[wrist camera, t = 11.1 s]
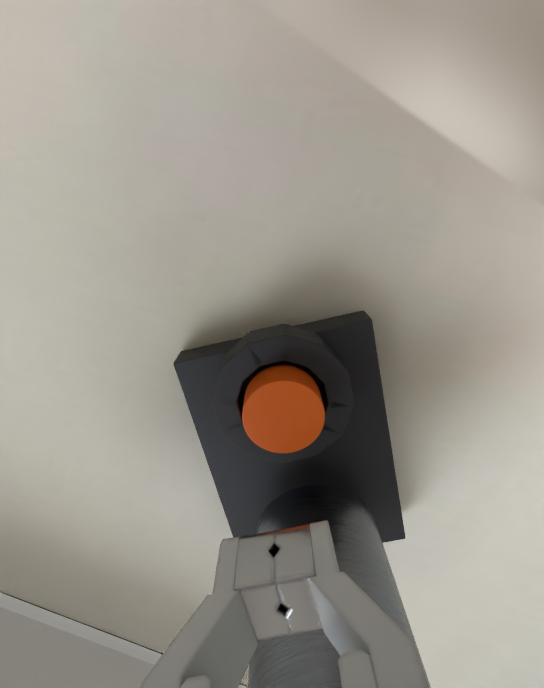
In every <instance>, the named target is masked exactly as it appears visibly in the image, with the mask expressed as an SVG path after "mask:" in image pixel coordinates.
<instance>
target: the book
mask: <svg viewBox="0 0 544 688" xmlns="http://www.w3.org/2000/svg"><path fill="white" fill-rule="evenodd" d="M161 656H162V654H160V653H157V652H155V651H152V650H149V649H147V648H144V647H141V646H139V645H136V644H134V643H131V642H128V641H126V640H123V639H121V638H118V637H115V636H113V635H110V634H107V633H105V632H102V631H100V630H97V629H94V628H92V627H89V626H87V625H84V624H81V623H79V622H76V621H74V620H71V619H68V618H66V617H63V616H60V615H58V614H55V613H53V612H50V611H47V610H45V609H42V608H40V607H37V606H34V605H32V604H29V603H26V602H24V601H21V600H19V599H16V598H13V597H11V596H8V595H6V594H3V593H0V688H140V685H141V683H142V681H143V680H144V679H145V677H146V676H147V675H148V673H149V672H150V671H151V669H152V668H153V667H154V665H155V664H156V663H157V661H158V660H159V659H160V657H161ZM238 688H248V687H246V686H243V685H241V684H239V686H238Z"/></svg>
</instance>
